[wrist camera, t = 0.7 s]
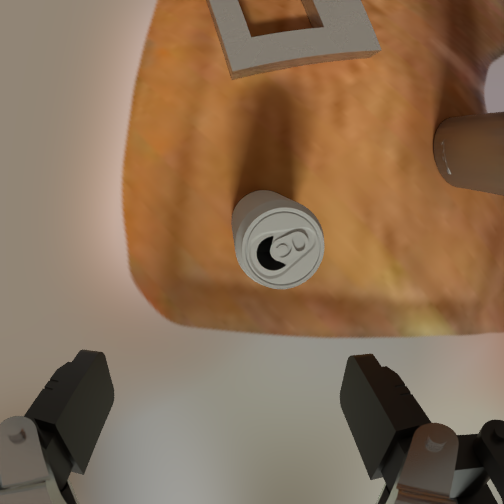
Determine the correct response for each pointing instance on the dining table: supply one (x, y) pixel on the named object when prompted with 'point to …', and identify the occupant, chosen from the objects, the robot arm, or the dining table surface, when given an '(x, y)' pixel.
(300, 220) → the beverage can
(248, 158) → the dining table surface
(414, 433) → the robot arm
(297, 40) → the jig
